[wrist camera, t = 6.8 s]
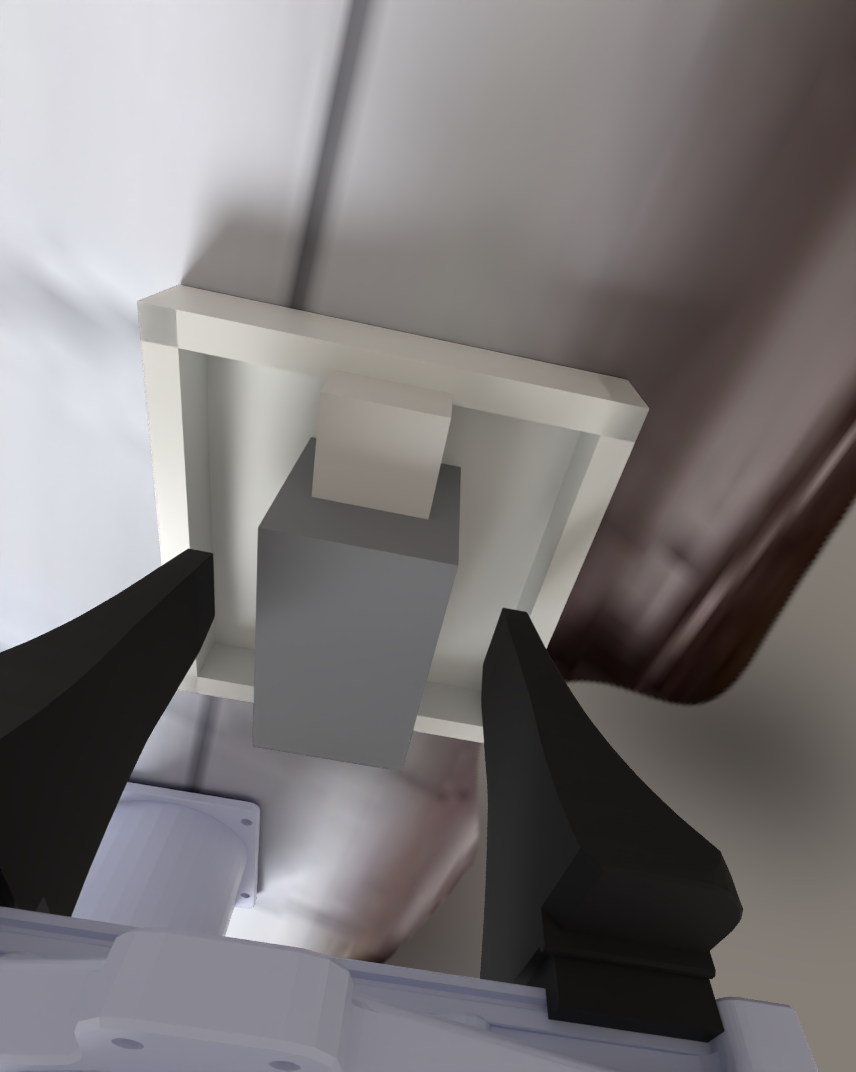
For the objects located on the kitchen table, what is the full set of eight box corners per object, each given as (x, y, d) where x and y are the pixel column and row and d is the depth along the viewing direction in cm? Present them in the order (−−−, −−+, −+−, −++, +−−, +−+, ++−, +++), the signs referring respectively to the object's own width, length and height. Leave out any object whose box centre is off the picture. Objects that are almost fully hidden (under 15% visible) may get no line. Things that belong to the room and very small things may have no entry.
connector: (415, 652, 19) (401, 771, 15) (295, 631, 18) (252, 746, 15) (482, 379, 13) (487, 457, 10) (317, 344, 13) (260, 411, 10)
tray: (501, 699, 20) (504, 746, 19) (198, 645, 20) (173, 689, 18) (627, 379, 14) (649, 408, 12) (178, 284, 13) (136, 301, 12)
